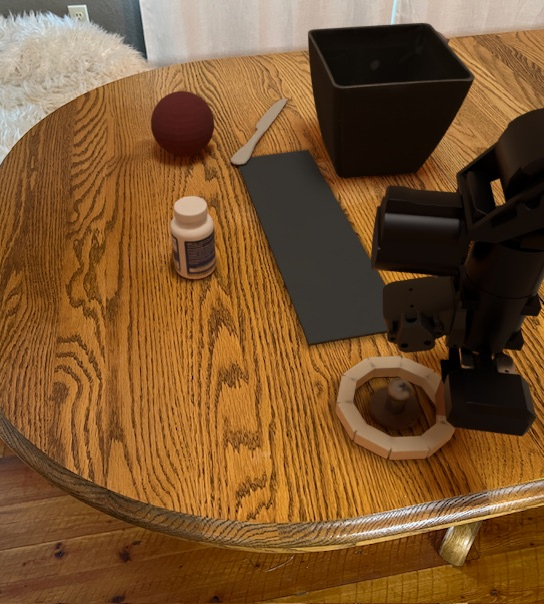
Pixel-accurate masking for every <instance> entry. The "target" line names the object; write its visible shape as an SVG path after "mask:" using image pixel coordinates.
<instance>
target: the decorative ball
mask: <svg viewBox="0 0 544 604" xmlns="http://www.w3.org/2000/svg"><path fill="white" fill-rule="evenodd" d="M151 113H152V114H151V117H150V129H151V133H152V136H153V138H154V141H155V142H156V143H157V145H158V146H159V147H160V148H161V149H162V150H163V151H165V152H166V153H167V154H168V155H171V156H174V157H178V158H189V157H193V156H195V155H197V154H199V153H201V152H202V151H204V149H206V147H207V146H208V145H209V143H210V142H211V141H212V138H213V134H214V132H215V119H214V114H213V112H212V109H211V107H210V106H209V104H208V102H207V101H206V100H204V99H203V98H202V97H201V96H200V95H198V94H196V93H194V92H191V91H187V90H178V91H173V92H170V93H168V94H166V95H165V96H163V97H162V98H161V99H160V100H158V102H157V104H156V105H155V106H154V108H153V111H152V112H151Z"/></svg>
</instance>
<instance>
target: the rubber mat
mask: <svg viewBox="0 0 544 604" xmlns="http://www.w3.org/2000/svg"><path fill="white" fill-rule="evenodd" d="M237 166H238V169H239V172H240V174H241V176H242V179H243V183H244V184H245V187H246V189H247V192H248V195H249V197H250V199H251V202H252V204H253V207H254V209H255V212H256V215H257V218H258V220H259V223H260V225H261V227H262V231H263V233H264V235H265V238H266V240H267V243H268V245H269V248H270V250H271V253H272V255H273V258H274V260H275V263H276V265H277V268H278V270H279V273H280V275H281V278H282V280H283V283H284V286H285V289H286V291H287V293H288V296H289V299H290V301H291V303H292V306H293V309H294V312H295V314H296V316H297V319H298V321H299V324H300V327H301V329H302V331H303V334H304V336H305V339H306V341H307V344H308V346H313V345H319V344H325V343H332V342H337V341H342V340H350V339H355V338H361V337H366V336H372V335H379V334H383V333H384V334H385V333H387V327H386V324H385V320H384V317H383V288H384V286H385V285H386V284H385V282H384V281H383V279H382V277H381V275H380V274H379V272H378V270H372V268H371V257H370V256H369V254H368V252H367V251H366V248H365V246H364V245H363V243H362V242H361V239H360V238H359V235H358V234H357V233H356V231H355V230H354V228H353V226H352V224H351V222H350V221H349V219H348V217H347V215H346V213H345V212H344V210H343V208H342V206H341V205H340V203H339V201H338V199H337V198H336V196H335V194H334V192H333V191H332V188H331V186H330V185H329V184H328V181H327V180H326V178H325V176H324V175H323V173H322V172H321V170H320V167H319V166H318V165H317V162H316V161H315V159H314V157H313V155H312V153H311V152H310V150H309V149H303V150H302V149H301V150H294V151H288V152H279V153H271V154H264V155H263V154H262V155H256V156H250V158H249V159H248V161H247V162H246V163H245V164H243V165H237Z"/></svg>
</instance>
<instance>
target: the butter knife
mask: <svg viewBox="0 0 544 604" xmlns="http://www.w3.org/2000/svg"><path fill="white" fill-rule="evenodd" d="M288 100H289V99H288V98H282V99H279V100H278V101H276V102H275V103H274V104H272V105H271V106H270V108H269V109H268V110H267V111H266V112H265V113H264V114H263V115H262V117H261V118H260V119H259V121H258V122H257V123H256V125H255V128H256V129H257V130H256V131H255V133H254V134H253V136H251V138H250V139H249V140H248V141H247V142H246V143H245V144H244V145H243V146H242V147H240V148H239V149H238V150H237V151H236V152H235V153H234V154H233V156H232V157H231V158H230V162H231V163H232V164H233V165H236V166H238V165H243V164H245V163H246V162H247V161H248V159H249V158H250V157H252V154H253V151H254V149H255V147H256V145H257V143H258V142H259V140H260V139H261V138H262V137H263V136H264V134H265V132H266V131H267V130H268V129H269V127H271V125H272V124H273V122H274V121H275V120H276V118H277V117H278V115H279V114H280V112H281V111H282V110H283V108H284V106H285V105H286V103H287V102H288Z"/></svg>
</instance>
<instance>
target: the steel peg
mask: <svg viewBox="0 0 544 604" xmlns="http://www.w3.org/2000/svg"><path fill="white" fill-rule="evenodd" d="M368 404H369V405H368V407H369V412H370V415H371V416H372V418H373V419H374V420H375V422H376V423H378V424H379V425H380V426H382V427H384V428H387V429H388V430H394V431H403V430H407V429H409V428H412V427H413V426H415V424H416V423H417V422H418V420H419V417H420V414H421V408H420V405H419V402H418V400H417V399H416V397H415V396H414V395H413V387H412V384H411V382H409V381H407V380H405V379H403V378H400V377H396V378H393V379H392V380H391V381H389V383H388V385H387V386H384V387H380V388H379V389H377V390H376V391H375V392H373V393H372V395H371V397H370V400H369V403H368Z"/></svg>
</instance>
